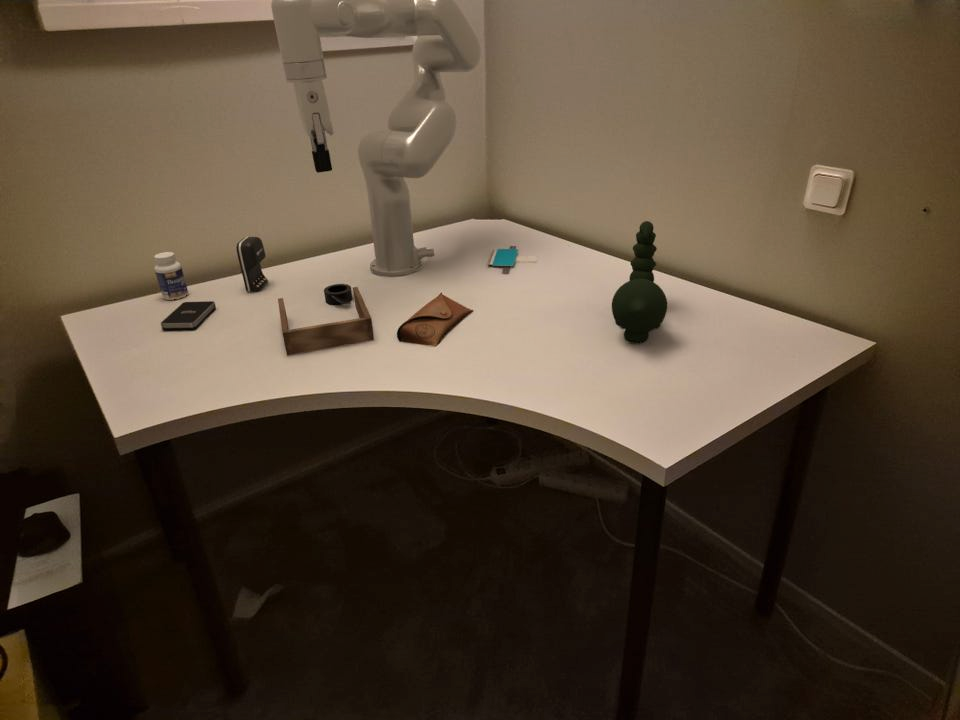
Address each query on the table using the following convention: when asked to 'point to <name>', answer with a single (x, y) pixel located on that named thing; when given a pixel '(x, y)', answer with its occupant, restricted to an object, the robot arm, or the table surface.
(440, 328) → the sunglasses case
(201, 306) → the external hard drive
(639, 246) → the dark green bulbous piece
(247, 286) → the battery charger
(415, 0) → the robot arm
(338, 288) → the black lugged cup
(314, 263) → the table surface
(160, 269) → the pill bottle
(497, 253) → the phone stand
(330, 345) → the cubby
